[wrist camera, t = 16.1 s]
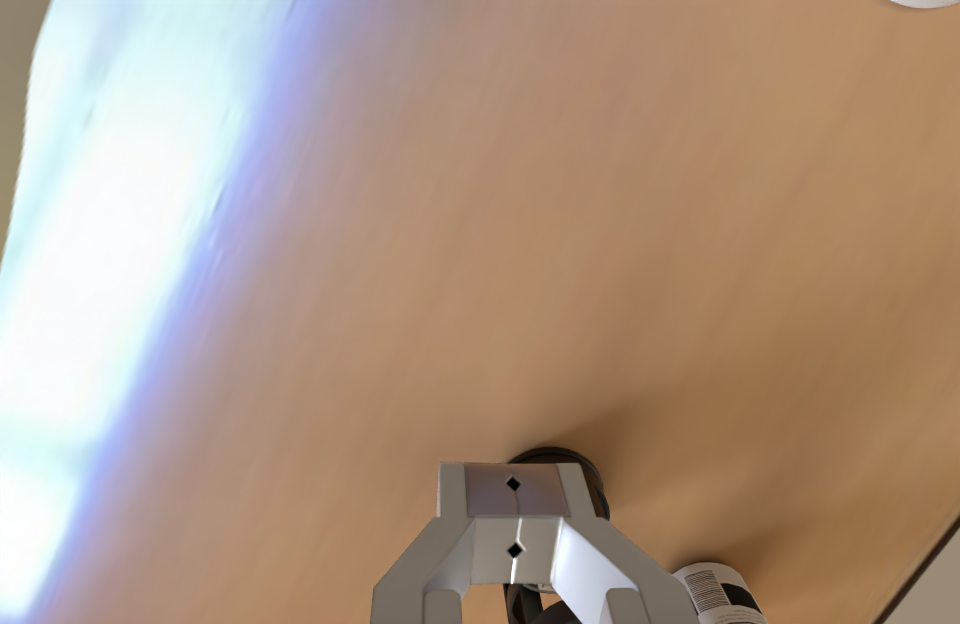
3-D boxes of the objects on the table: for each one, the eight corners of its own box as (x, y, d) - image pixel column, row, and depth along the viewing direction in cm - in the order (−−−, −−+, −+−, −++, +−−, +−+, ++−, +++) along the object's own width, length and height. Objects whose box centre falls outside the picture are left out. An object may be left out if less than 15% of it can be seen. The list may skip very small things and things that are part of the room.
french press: (532, 422, 53) (605, 680, 32) (629, 468, 56) (756, 737, 35) (457, 530, 57) (479, 827, 36) (551, 569, 59) (624, 870, 38)
